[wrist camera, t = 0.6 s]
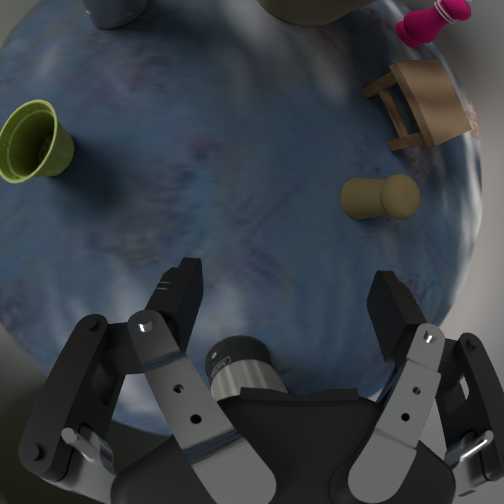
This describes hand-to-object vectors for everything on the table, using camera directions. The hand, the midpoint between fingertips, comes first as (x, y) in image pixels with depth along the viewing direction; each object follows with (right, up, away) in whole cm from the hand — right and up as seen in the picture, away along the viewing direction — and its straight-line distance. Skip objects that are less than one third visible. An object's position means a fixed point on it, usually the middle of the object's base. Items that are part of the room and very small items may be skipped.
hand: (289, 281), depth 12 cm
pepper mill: (+30, +45, +22) cm, 58 cm away
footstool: (+22, +24, +24) cm, 40 cm away
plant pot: (-27, +14, +15) cm, 34 cm away
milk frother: (-2, -18, +25) cm, 31 cm away
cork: (+13, +9, +24) cm, 29 cm away
